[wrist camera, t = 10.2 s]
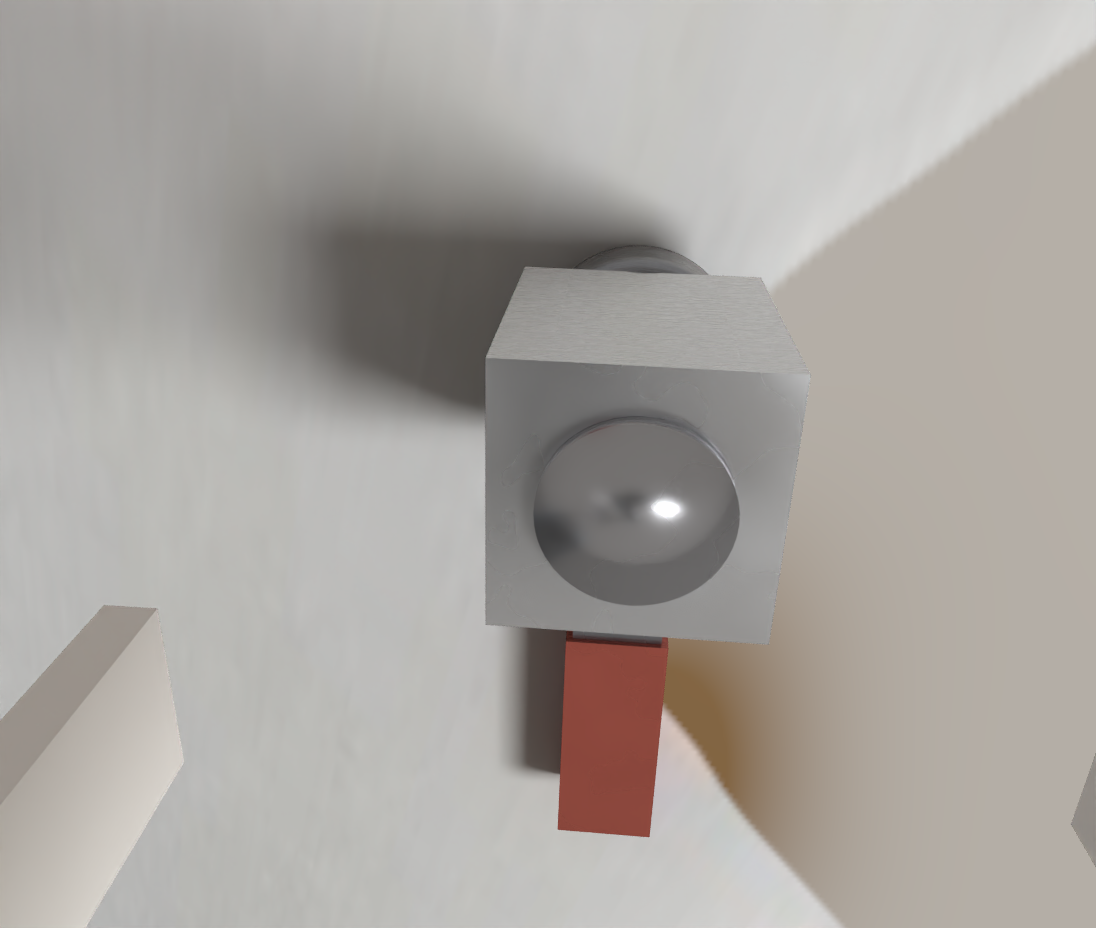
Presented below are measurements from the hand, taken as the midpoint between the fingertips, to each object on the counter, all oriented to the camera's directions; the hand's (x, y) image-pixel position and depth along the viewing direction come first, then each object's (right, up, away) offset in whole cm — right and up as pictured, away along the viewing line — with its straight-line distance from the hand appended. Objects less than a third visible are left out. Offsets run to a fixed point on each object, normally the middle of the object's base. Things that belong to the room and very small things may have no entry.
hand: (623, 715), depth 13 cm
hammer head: (+1, +6, +12) cm, 13 cm away
